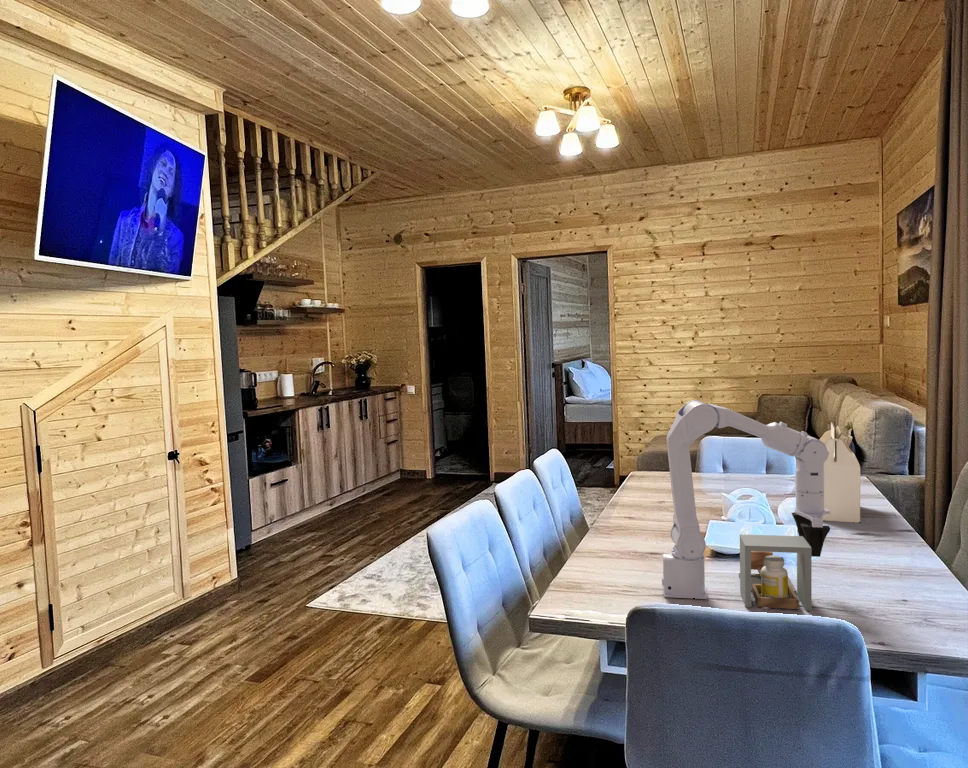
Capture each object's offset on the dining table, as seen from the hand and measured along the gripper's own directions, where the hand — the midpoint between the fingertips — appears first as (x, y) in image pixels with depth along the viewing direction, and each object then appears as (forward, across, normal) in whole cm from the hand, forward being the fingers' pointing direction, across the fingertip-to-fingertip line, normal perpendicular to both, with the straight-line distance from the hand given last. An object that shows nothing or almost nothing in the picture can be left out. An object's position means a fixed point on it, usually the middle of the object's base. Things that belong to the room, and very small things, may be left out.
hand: (810, 550), depth 153 cm
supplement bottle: (+10, -6, +9) cm, 15 cm away
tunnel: (+10, -6, +9) cm, 15 cm away
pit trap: (+10, +4, +9) cm, 14 cm away
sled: (+10, +1, +9) cm, 13 cm away
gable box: (+10, +71, -22) cm, 75 cm away
